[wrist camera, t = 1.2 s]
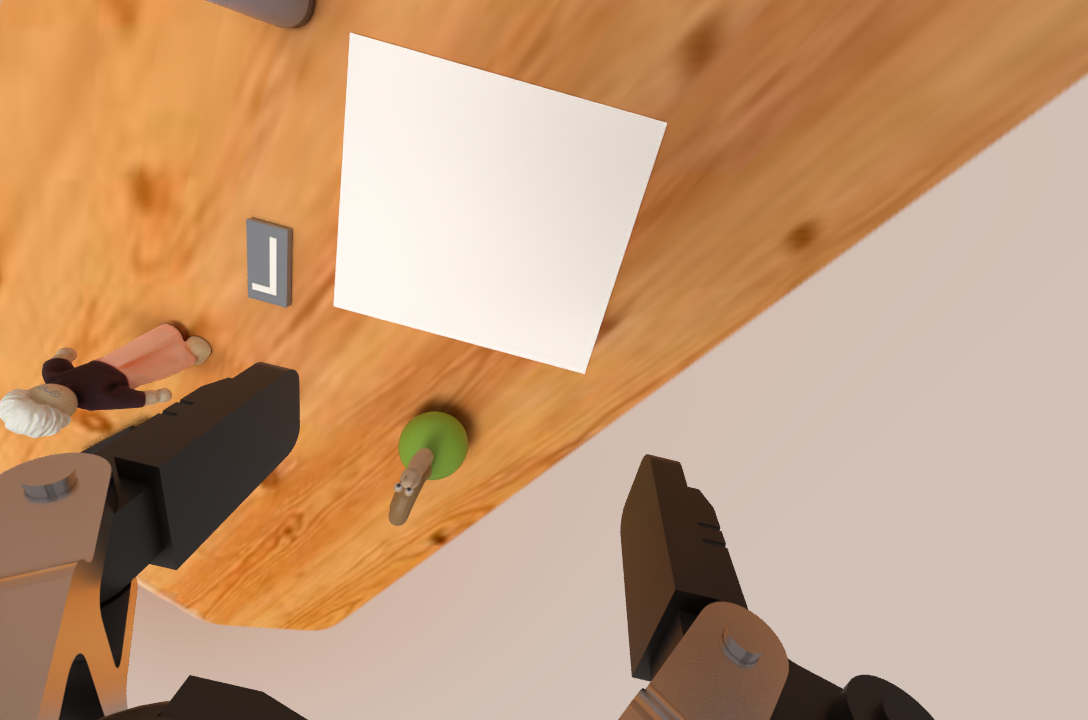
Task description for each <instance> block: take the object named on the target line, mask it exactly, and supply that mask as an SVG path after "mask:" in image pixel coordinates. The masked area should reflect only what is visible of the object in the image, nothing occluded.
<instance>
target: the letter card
mask: <svg viewBox="0 0 1088 720" xmlns="http://www.w3.org/2000/svg"><path fill="white" fill-rule="evenodd" d="M246 224H247V266H248V297H249V298H253V299H257V300H261V301H264V302H268V303H272V304H275V305H279V306H283V307H288V306H290V305H291V278H292V229H291V228H287V227H283V226H280V225H276V224H272V223H269V222H265V221H261V220H258V219H254V218H249V219H246Z"/></svg>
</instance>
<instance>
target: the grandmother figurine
mask: <svg viewBox="0 0 1088 720" xmlns="http://www.w3.org/2000/svg"><path fill="white" fill-rule="evenodd" d="M210 354H211V347H210V345H209V344H208V343H207V342H206V341H205V340H204V339H202V338H200V337H197V336H192V337H190V338H189V339H188V340H187V341H183V338H182V335H181V333H180V332H179V330H178V329H177V328H175V327H174V326H172V325H169V324H166V323H163V324H160V325H159V326H158V327H156V328H154V329H152V330H150V331H148V332H147V333H145V334H143V335H141V336H139V337H138V338H136V339H134V340H132V341H131V342H129V343H127V344H126V345H124V346H122V347H120V348H118V349H116V350H115V351H113V352H111V353H109V354H108V355H106V356H105V357H102V358H99V359H96V360H93V361H91V362H89V363H87V364H84V365H81V366H78V367H76V368H74V366H73V365H72V361H73V360H75V359H76V357H77V353H76V351H75V350H74V349H72V348H61V349H60V350H58V352H57V355H55V356H53V357H52V358H51V359H50V360H48V361H46V362H45V363H44V364H43V369H42V376H43V379H44V381H45V383H46V384H43V385H39V386H36V387H33V388H31V389H29V390H23V389H16V390H13V391H11V392H9V393H7V394H6V395H5V397H3V399H2V400H1V402H0V418H1V419H2V420H3V421H4V422H5V427H6V428H7V429H8V430H11V431H12V432H14V433H18V434H25V435H27V436H30V437H33V438H37V437H43V436H50V435H54V434H55V433H57V432H59V431H60V429H61V428H64V427H66V426H67V425H68V424H69V423H70V421H71V418H70V417H71V416H72V415H73V414H74V412H75V411H76V409H77V407H78V408H81V409H86V410H89V411H93V410H111V409H126V408H140V407H143V406H146V405H152V404H155V403H157V402H167V401H169V400H170V399H171V398H172V393H171V391H170V390H168V389H165V388H164V389H159V390H157V391H153V390H149V391H137V390H134V389H135V388H137V387H138V386H140V385H144V384H147V383H151V382H154V381H157V380H161V379H164V378H167V377H169V376H172V375H174V374H176V373H178V372H180V371H181V370H183V369H186V368H188V367H190V366H192V365H199V364H202V363H203V362H204V361H205V360H206V359H207V357H208V356H209V355H210Z"/></svg>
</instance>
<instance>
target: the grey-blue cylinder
mask: <svg viewBox="0 0 1088 720" xmlns="http://www.w3.org/2000/svg"><path fill="white" fill-rule="evenodd" d="M206 1H209V2H212V3H215V4H217V5H220V6H223V7H225V8H228V9H231V10H233V11H236V12H239V13H242V14H244V15H247V16H250V17H252V18H255V19H258V20H261V21H263V22H266V23H269V24H271V25H274V26H277V27H280V28H290V27H291V28H296V27H301V26H303V25H304V24H306V23H307V22H308V21H309V19H310V18H311V16H312V14H313V11H314V5H315V0H206Z"/></svg>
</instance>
